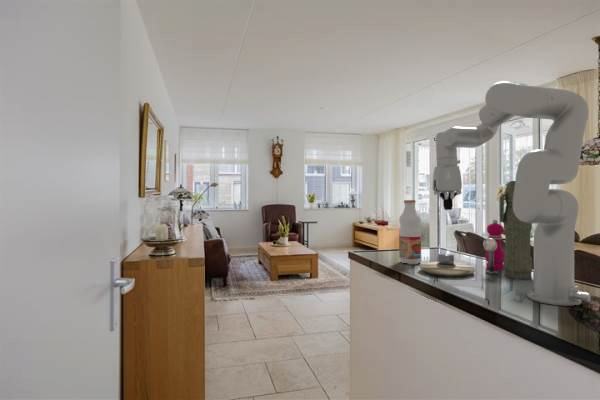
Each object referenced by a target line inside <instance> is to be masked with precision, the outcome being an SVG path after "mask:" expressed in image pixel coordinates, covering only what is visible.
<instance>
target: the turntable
mask: <svg viewBox="0 0 600 400" xmlns="http://www.w3.org/2000/svg"><path fill="white" fill-rule="evenodd" d="M437 263H438V261H426V262H421V263H420V264H418V266H419V267H418V268H419V270H421V271H423V272H425V271H426V272H430V273H436V274H446V275H465V274H469V275H471V274H473V273H476V272H475V271H476V268H475V266H473V265H470V264H468V263H467V264H466V263H462V262H455V261H454V264H455V265H456V267H455V268H442V267H438V266H437ZM426 272H425V273H426Z"/></svg>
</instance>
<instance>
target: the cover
mask: <svg viewBox="0 0 600 400" xmlns="http://www.w3.org/2000/svg"><path fill="white" fill-rule="evenodd" d="M437 259H438V261H437V262H438V263H437V266H438V267H442V268H455V267H456V265H455V264H454V262H455V254H452V253H438V258H437Z"/></svg>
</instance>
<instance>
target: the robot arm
mask: <svg viewBox="0 0 600 400" xmlns="http://www.w3.org/2000/svg"><path fill="white" fill-rule="evenodd" d="M485 93H486V94H485V96H484V99H485V104H484V105H483V106H482V107H481V108H480V109H479V111H478V117H479V120H480V121H481V123H480V124H478V125H477V126H475V127H469V126H468V127H466V126H464V127H463V126H453V127H450V128H448V129H446V130H444V131H440V132H438V133H436V136H435V148H436V149H435V150H436V152H435V153H436V157H435V158H436V166H435V167H434V168H433V175H432V191H433V195H435V196H438V197H440V198H441V200H442V201H443V203H442V204H443V209H444V210H445V211H451V210H453V206H454V204H453V200H454V199H455V197H456V196H459V195H462V189H463V188H462V187H463V184H462V175H461V170H460V166H459V165H458V164H461V160H460V159H458V151H457V150H458V148H465V149H466V148H469V149H473V148H474V149H475V148H478V147H480V146H482V145H484V144H485V143H487V142H489V141H490V140H492V139H493V138H494V137H495V135H496V134H497V132H498V130H499V127H500V126H501V125H503V124H505V123H506V122H507V121H509V120H510V119H513V118H514V117H522V118H529V119H539V120H541V119H542V120H552V121H553V122H552V123H551V125H550V127H549V128H548V130H547V132H546V135H545V141H544V142H545V143H544V147H543V149H535V150H534V149H533V150H531V151H528V152H526V154H524V155H523V157H522V158H521V159H520V161H519V163H518V165H517V169H516V174H515V180H514V181H515V188H514V195H513V211H514V214H515V216H516V217H517V218H518V219H519V220H520V221H522V222H525V223H533V224H537V225H536V227H535V230H534V232H533V233H534V235H533V290H529V291H528V292H527V297H528V299H530V300H532V301H534V302H537V303H542V304H547V305H554V306H559V307H562V306H563V307H573V306H574V305H576V306H580V305H581V304H582V301H583V302H586V303H590V302H591V300H592V296H591V294H590V293H588V292H583V291H580V290H579V287H580V286H579V285H575V234H576V233H575V232H576V224H577V220H578V215H579V208H580V207H579V203H578V199H577V197H576V196H575V195H574V194H572V193H571V192H569V191H567V190H564V189H562V188H561V189H560V188H550V185H564V184H570V183H571V182H573V181H574V180H575V179H576V178H577V175H578V172H579V167H580V162H581V157H582V155H581V154H582V149H583V143H584V137H585V136H584V135H585V131H586V126H587V122H588V118H589V106H588V103H587V101H586V99H585V98H584V97H583V96H582V95H581V94H578V93H577V92H574V91H572V90H571V91H570V90H568V89H562V88H555V87H545V86H535V85H528V84H526V83H522V82H515V81H505V80H502V81H499V82H496V83H494V84H492V85H491V86H490V87H489V88H488V90H487V91H486V92H485Z"/></svg>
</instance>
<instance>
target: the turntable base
mask: <svg viewBox="0 0 600 400" xmlns="http://www.w3.org/2000/svg"><path fill="white" fill-rule="evenodd" d="M424 272H425V273H426V274H429V275H433V276H438V277H447V278H460V277H461V278H462V277H467V276H469V275H470V274H465V275H446V274H436V273H430V272H426V271H424Z"/></svg>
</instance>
